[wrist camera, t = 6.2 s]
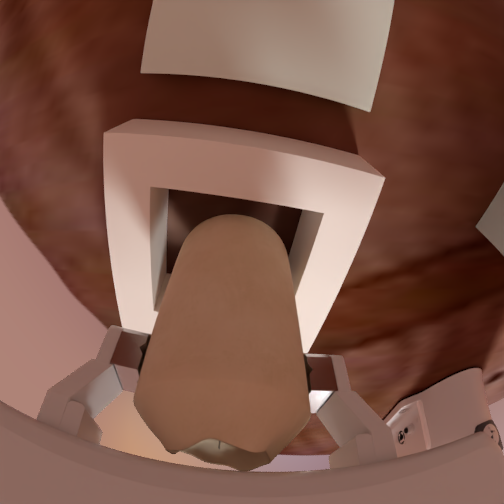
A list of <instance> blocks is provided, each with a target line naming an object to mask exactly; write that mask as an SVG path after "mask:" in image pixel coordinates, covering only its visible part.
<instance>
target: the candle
mask: <svg viewBox="0 0 504 504" xmlns="http://www.w3.org/2000/svg"><path fill="white" fill-rule="evenodd" d="M134 406H135V407H136V409H137V411H138V413H139V414H140V416H141V418H142V419H143V420H144V422H145V423H146V425H147V426H148V427H149V429H150V430H151V431H152V432H153V433H154V434H155V436H156V437H157V438H158V439H159V440H160V441H161V443H162V444H163V446H164V448H165V449H166V450H167V451H168V452H170V453H171V454H176V453H177V452H179V451H181V452H184V453H187V454H189V455H192V456H194V457H196V458H198V459H200V460H202V461H204V462H207V463H211V464H217V465H225V466H229V467H231V468H234V469H236V470H239V471H250V470H253V469H255V468H258V467H260V466H263V465H266V464H269V463H270V462H271V461H272V460H273V459H274V458H275V457H276V456H277V455H278V454H279V453H280V452H281V451H282V450H283V449H284V448H285V447H286V446H287V445H288V444H289V443H290V442H291V441H292V440H293V439H294V437H295V436H296V435H297V434H298V433H299V432H300V431H301V430H302V429H303V428H304V426H305V425H306V424H307V423H308V421H309V419H310V417H311V409H310V401H309V393H308V385H307V377H306V369H305V362H304V355H303V348H302V341H301V334H300V327H299V320H298V314H297V307H296V301H295V294H294V288H293V282H292V276H291V270H290V264H289V259H288V255H287V251H286V248H285V246H284V244H283V242H282V240H281V238H280V237H279V235H278V234H277V233H276V232H275V231H274V230H273V229H272V228H271V227H270V226H268V225H267V224H265V223H264V222H262V221H260V220H258V219H255V218H253V217H250V216H245V215H239V214H225V215H219V216H215V217H212V218H209V219H207V220H205V221H203V222H202V223H200V224H199V225H197V226H196V227H195V228H194V229H193V230H192V231H191V232H190V233H189V235H188V236H187V237H186V239H185V241H184V243H183V245H182V247H181V249H180V252H179V254H178V257H177V260H176V263H175V265H174V268H173V271H172V274H171V277H170V279H169V282H168V285H167V288H166V291H165V294H164V297H163V300H162V303H161V306H160V309H159V312H158V315H157V318H156V321H155V325H154V328H153V331H152V334H151V338H150V341H149V344H148V347H147V351H146V354H145V358H144V361H143V365H142V368H141V372H140V375H139V379H138V383H137V386H136V390H135V394H134Z"/></svg>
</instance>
